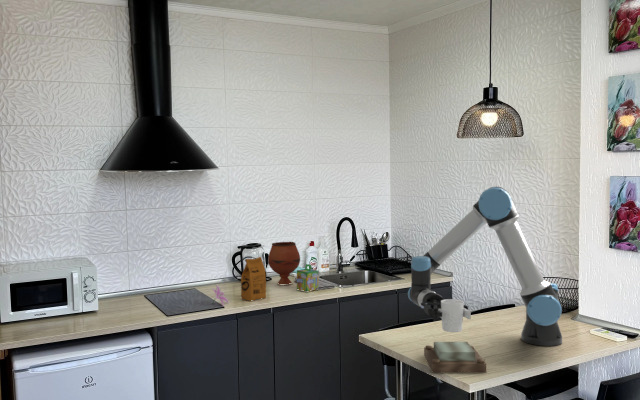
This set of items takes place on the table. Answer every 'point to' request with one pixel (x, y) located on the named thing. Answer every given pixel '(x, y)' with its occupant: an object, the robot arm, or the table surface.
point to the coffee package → (253, 280)
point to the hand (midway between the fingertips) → (458, 316)
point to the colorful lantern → (307, 279)
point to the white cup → (452, 315)
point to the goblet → (284, 259)
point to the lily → (220, 295)
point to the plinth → (454, 364)
